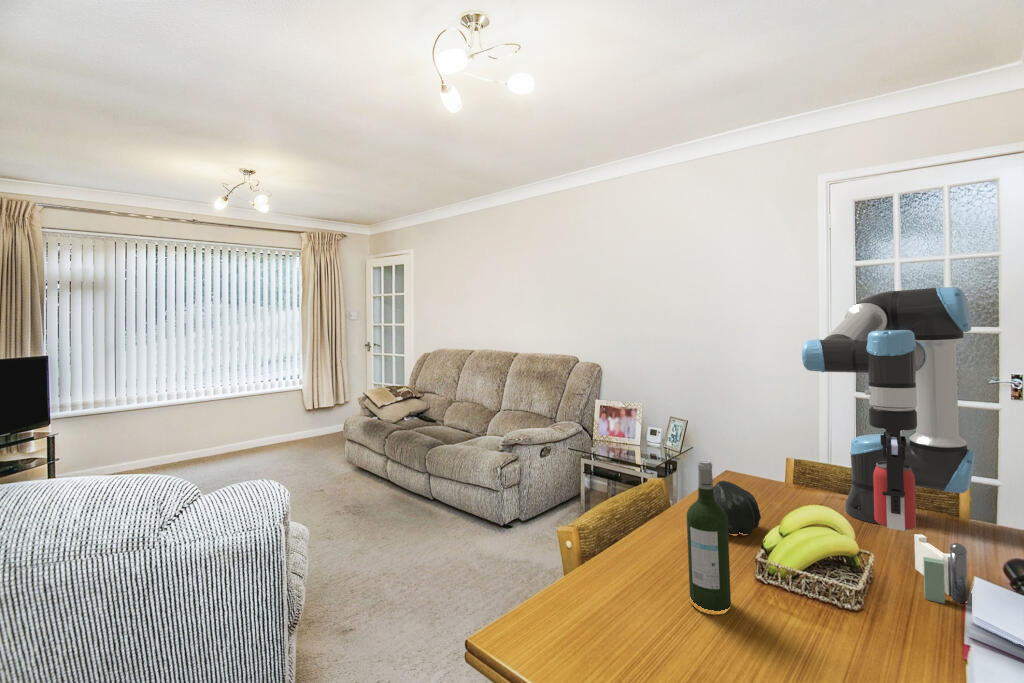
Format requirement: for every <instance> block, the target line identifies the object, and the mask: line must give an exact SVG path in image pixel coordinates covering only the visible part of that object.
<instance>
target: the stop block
mask: <svg viewBox="0 0 1024 683" xmlns="http://www.w3.org/2000/svg"><path fill="white" fill-rule="evenodd" d="M923 565H924V575H923V587H924V588H923V592H924V593H923V595H925V596H924V599H925V600H926V599H927V600H926V601H931V602H936V603H939V604H940V603H941V604H946V597H945V596H946V595H945V594H946V593H945V588H944V563H943V560H939V559H933V558H928V557H923Z"/></svg>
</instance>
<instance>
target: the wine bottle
mask: <svg viewBox="0 0 1024 683" xmlns="http://www.w3.org/2000/svg"><path fill="white" fill-rule="evenodd" d="M712 469H713V464H712V461H711V460H708V459H700V460H698V462H697V470H698V472H697V473H698V475H697V476H698V484H697V485H698V486H697V487H698V492H697V493H698V495H697V496H698V497H697V500H696V501H695V502H694V503H692V504H691V505H690V506H689V507H688V509H687V512H686V530H687V531H686V532H687V560H688V582H689V598H690V597H691V599H692V600H693V602H694V603H696V604H697V605H698V606H701V607H702V608H704V609H708V610H714V611H721V610H725V609H728V608H729V607H730V605H731V606H732V602H731V601H732V600H731V572H730V547H729V546H730V545H729V534H728V517H727V514H726V513H725V511H724V509H723V508H722V507H721V506H720V505H719V504H717V503H716V502H715V499H714V491H713V487H714V480H713V479H714V478H713V470H712Z"/></svg>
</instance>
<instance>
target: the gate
mask: <svg viewBox="0 0 1024 683" xmlns="http://www.w3.org/2000/svg"><path fill="white" fill-rule="evenodd" d="M913 536H914V538H913V539H914V540H913V542H914V564H915V565H914V568H915V570H916V571H917V572H918V573H920V574H921V575H922V576H924V565H923V557H928V558H933V559H939V560H943V563H944V588H945V594H947V595H948V596H951V562H950V553H947V552H946V553H945V552H942V551H941V550H940V549H938V548H936V547H935V546H934V545H932V544H931V543H929V542H928V537H927V536H925V535H924V534H915V533H914V534H913Z"/></svg>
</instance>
